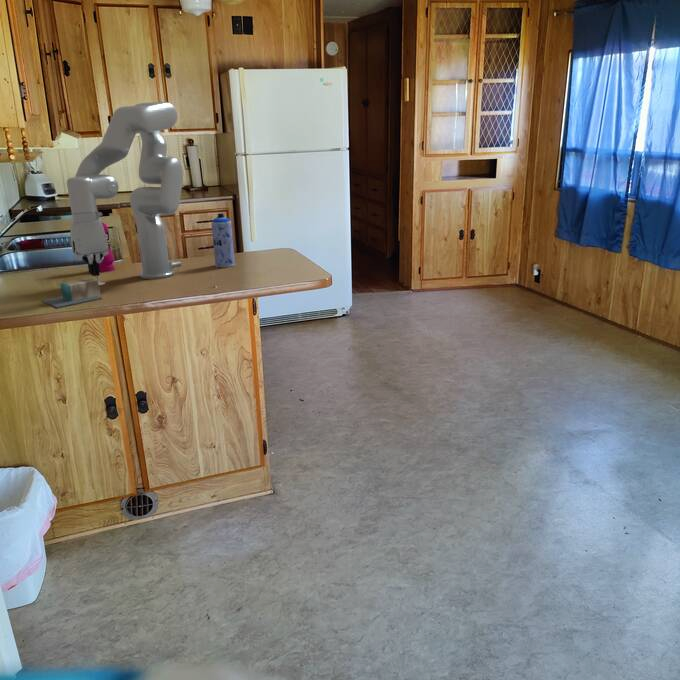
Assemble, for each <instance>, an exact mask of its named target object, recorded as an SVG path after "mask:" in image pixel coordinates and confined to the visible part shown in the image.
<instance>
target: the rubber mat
mask: <svg viewBox="0 0 680 680" xmlns="http://www.w3.org/2000/svg"><path fill="white" fill-rule="evenodd" d="M102 299H103V298H102V297H101V296H100V295H99V296H94V297H90V298H85V299H80V300H75V301H70V302H69V301H67V300H64V299H63V296H58V297H54V298H48V299H44V300H42V302H43V303H45V304H46V305H49V306H50V307H53V308H55V309H60V308H61V309H62V308H67V307H71V306H75V305H80V304H84V303H89V302H94V301H98V300H102Z"/></svg>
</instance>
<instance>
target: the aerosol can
mask: <svg viewBox="0 0 680 680" xmlns="http://www.w3.org/2000/svg"><path fill="white" fill-rule="evenodd" d="M211 230H212V231H211V232H212V241H213V242H212V243H213V244H212V245H213V252H214V263H215V266H216V267H215V268H218V267H227V268H231V267H230V266H233V267H235V266H236V261H235V249H234V248H235V247H234V240H233V228H232V221H231V220H230V219H229V218H227V217H226V216H225V214H224V213H217V217H215V218H214V219H213V220H212V221H211ZM234 265H235V266H234Z"/></svg>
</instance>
